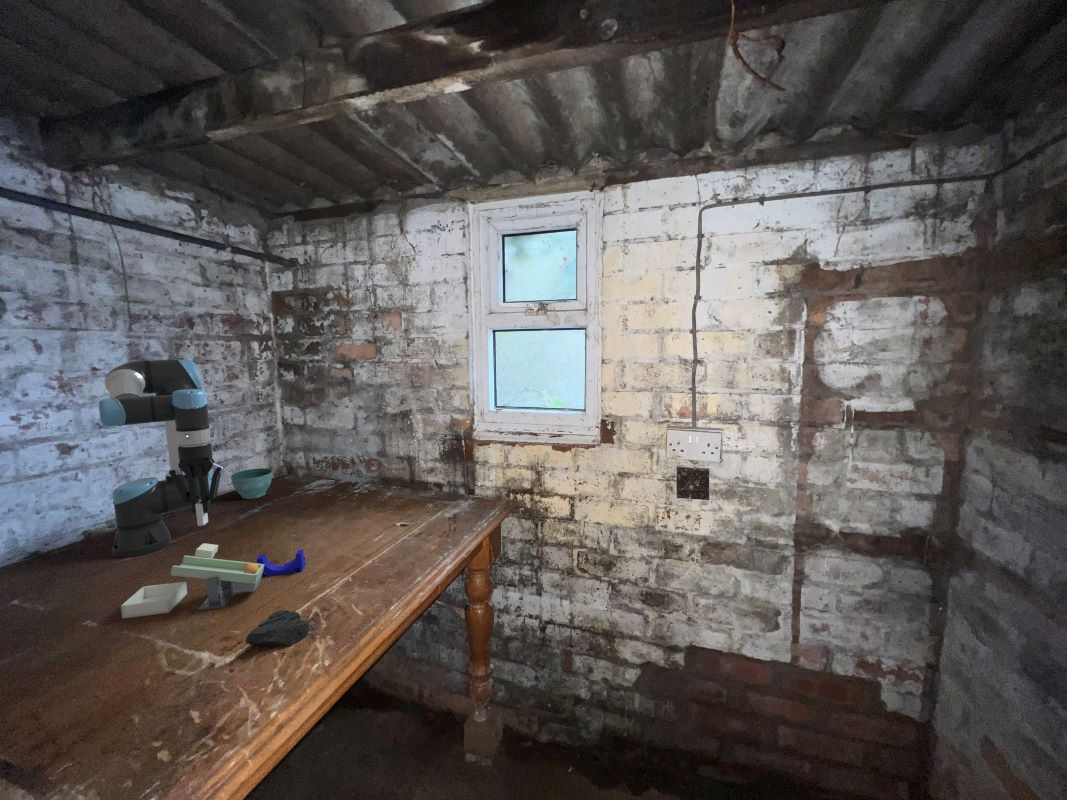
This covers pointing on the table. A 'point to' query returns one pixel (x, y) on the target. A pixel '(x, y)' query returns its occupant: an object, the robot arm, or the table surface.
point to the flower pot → (252, 482)
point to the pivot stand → (218, 594)
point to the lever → (218, 569)
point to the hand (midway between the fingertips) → (202, 523)
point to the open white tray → (154, 600)
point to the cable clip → (289, 567)
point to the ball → (251, 568)
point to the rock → (279, 630)
